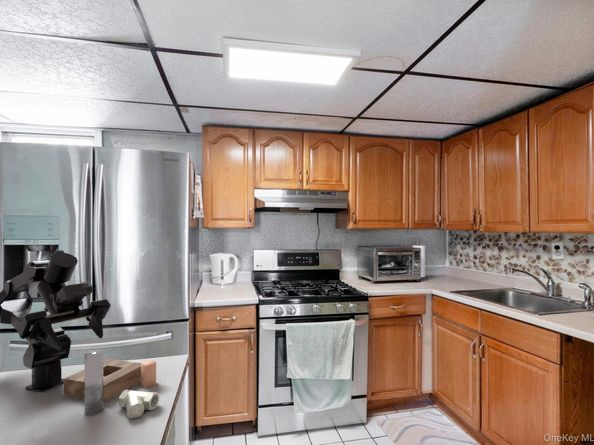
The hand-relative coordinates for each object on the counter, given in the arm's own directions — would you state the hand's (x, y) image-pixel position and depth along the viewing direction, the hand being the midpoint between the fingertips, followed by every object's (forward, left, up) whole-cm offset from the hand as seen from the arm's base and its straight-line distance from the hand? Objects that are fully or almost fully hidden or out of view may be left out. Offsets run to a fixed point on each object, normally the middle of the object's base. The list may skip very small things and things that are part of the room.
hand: (82, 342), depth 78 cm
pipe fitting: (+15, 0, -14) cm, 21 cm away
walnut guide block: (-1, +8, -14) cm, 16 cm away
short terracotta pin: (+9, +12, -14) cm, 20 cm away
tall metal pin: (+6, -2, -14) cm, 15 cm away
